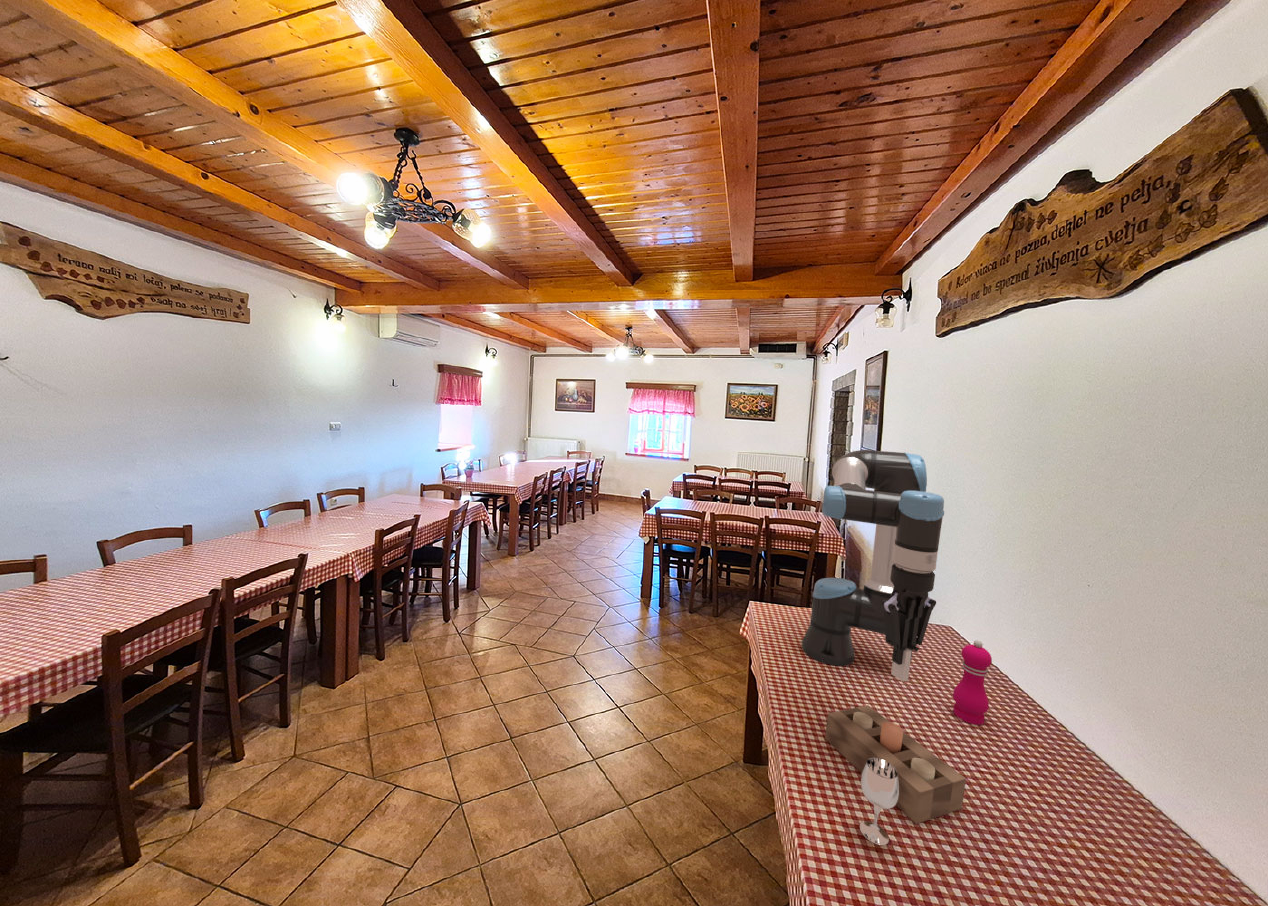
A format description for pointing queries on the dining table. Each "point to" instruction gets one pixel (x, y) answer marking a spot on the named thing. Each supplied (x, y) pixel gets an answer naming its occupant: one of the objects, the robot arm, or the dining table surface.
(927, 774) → the near beech plug
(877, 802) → the wineglass
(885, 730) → the rust plug
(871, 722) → the far beech plug
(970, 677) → the pepper mill
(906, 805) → the walnut socket block
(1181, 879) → the dining table surface
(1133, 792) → the dining table surface
